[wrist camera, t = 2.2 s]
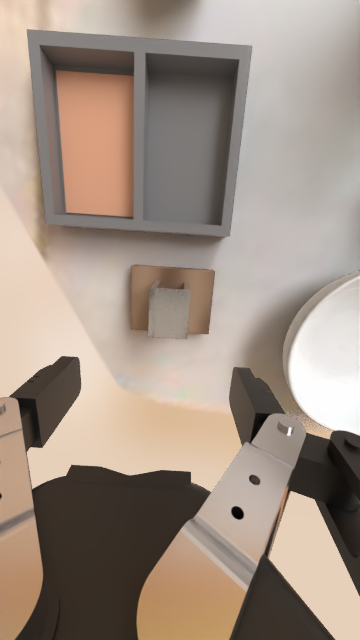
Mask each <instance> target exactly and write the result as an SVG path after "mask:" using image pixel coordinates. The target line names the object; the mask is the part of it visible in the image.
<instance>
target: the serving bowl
mask: <svg viewBox="0 0 360 640" xmlns="http://www.w3.org/2000/svg"><path fill="white" fill-rule="evenodd" d="M283 370H284V375H285V379H286V382H287V385H288V387H289V390H290V392H291V394H292V396H293V398H294V400H295V402H296V403H297V405H298V406H299V407H300V409H301V410H302V411H303V412H304V413H305V414H306V415H307V416H308V417H309V418H311V419H312V420H313V421H315V422H316V423H318V424H319V425H321V426H323V427H325V428H328V429H330V430H333V431H336V430H343V431H348V432H351V433H354V434H356V435H360V270H359V271H356V272H353V273H350V274H348V275H345V276H343V277H341V278H339V279H337V280H335V281H333V282H331V283H329V284H328V285H326V286H325V287H323V288H322V289H321V290H319V291H318V292H317V293H315V294H314V295H313V296H312V297H311V298H310V299H309V300H308V301H307V302H306V303H305V304H304V305H303V306H302V308H301V309H300V310H299V312H298V313H297V314H296V316H295V318H294V319H293V321H292V323H291V325H290V327H289V329H288V332H287V335H286V338H285V342H284V347H283Z"/></svg>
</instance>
